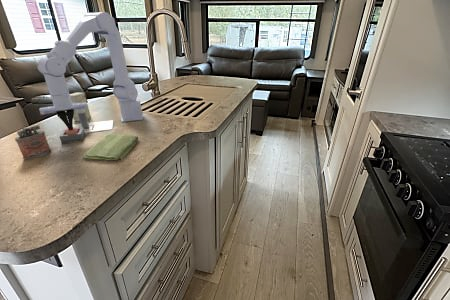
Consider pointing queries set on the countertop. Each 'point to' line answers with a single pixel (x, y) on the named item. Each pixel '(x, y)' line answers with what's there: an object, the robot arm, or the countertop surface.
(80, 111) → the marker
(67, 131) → the button
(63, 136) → the button housing
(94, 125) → the paper sheet
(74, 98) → the skincare box
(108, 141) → the washcloth
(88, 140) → the countertop surface
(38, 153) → the lighter
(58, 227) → the countertop surface
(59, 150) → the countertop surface
